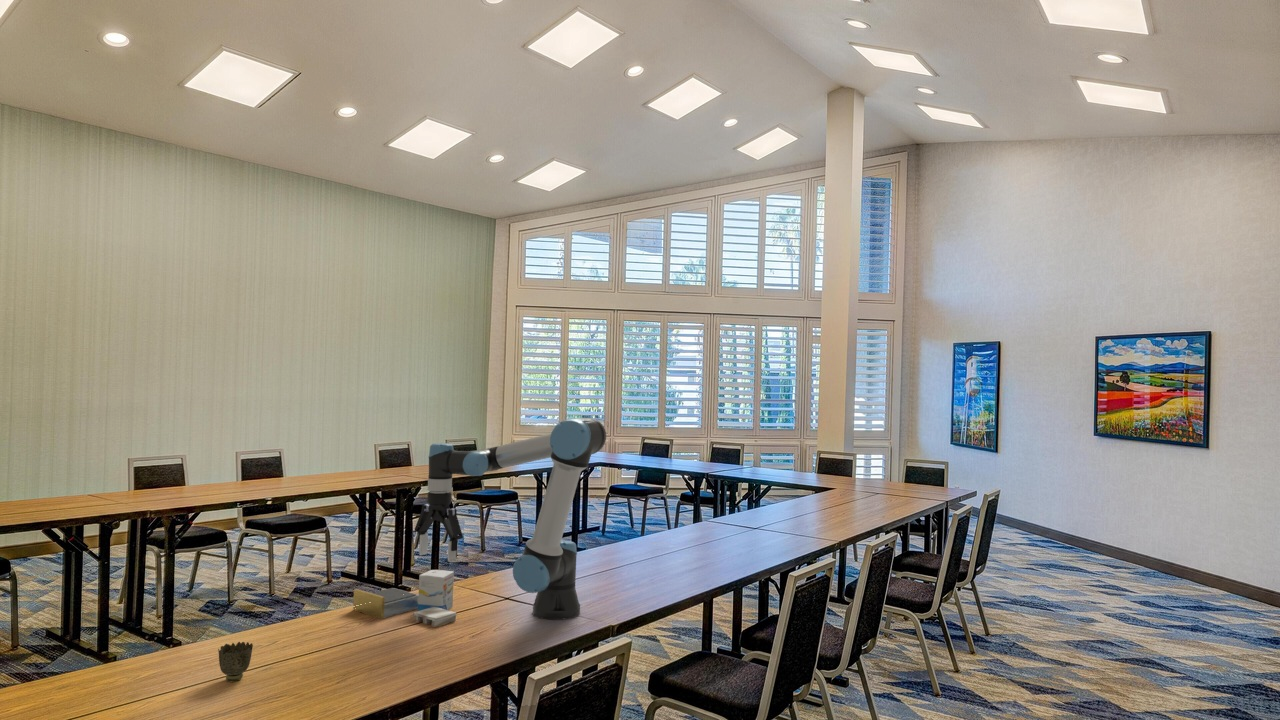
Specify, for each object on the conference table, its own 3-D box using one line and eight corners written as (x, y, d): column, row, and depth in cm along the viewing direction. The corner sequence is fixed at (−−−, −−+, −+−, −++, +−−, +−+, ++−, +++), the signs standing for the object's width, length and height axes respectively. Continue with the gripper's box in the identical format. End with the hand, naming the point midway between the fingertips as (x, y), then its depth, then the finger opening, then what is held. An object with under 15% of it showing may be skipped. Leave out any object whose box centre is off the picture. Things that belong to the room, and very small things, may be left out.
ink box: (441, 614, 243) (443, 577, 243) (416, 612, 245) (418, 574, 245) (453, 606, 252) (454, 570, 252) (429, 604, 253) (430, 568, 254)
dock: (420, 607, 249) (421, 587, 250) (381, 618, 237) (381, 597, 237) (392, 599, 257) (393, 580, 257) (353, 610, 245) (353, 589, 245)
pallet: (456, 620, 237) (456, 612, 237) (435, 627, 230) (436, 618, 230) (434, 614, 243) (434, 606, 243) (413, 620, 236) (413, 612, 236)
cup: (225, 673, 190) (226, 641, 190) (256, 673, 191) (257, 641, 191) (211, 685, 183) (212, 651, 183) (243, 685, 183) (245, 651, 184)
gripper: (475, 494, 245) (473, 561, 245) (423, 486, 260) (420, 550, 259) (457, 496, 239) (454, 565, 239) (405, 488, 253) (402, 553, 253)
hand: (437, 557), depth 249 cm, fingers open, 13 cm apart
